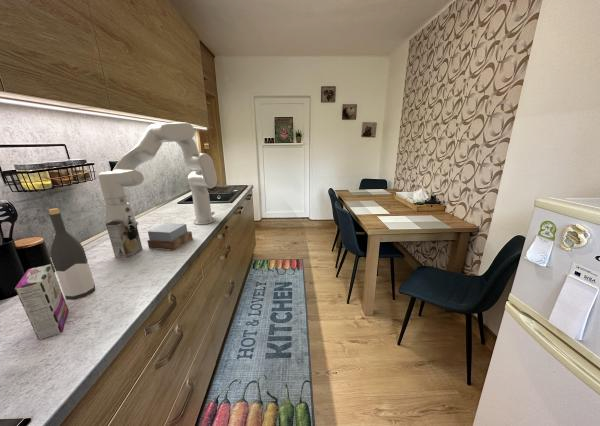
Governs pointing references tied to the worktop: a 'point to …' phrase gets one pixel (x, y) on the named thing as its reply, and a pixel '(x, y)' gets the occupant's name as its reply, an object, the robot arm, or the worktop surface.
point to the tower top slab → (167, 232)
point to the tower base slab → (170, 242)
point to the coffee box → (123, 240)
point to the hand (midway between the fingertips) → (125, 238)
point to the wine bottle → (70, 261)
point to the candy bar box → (43, 301)
